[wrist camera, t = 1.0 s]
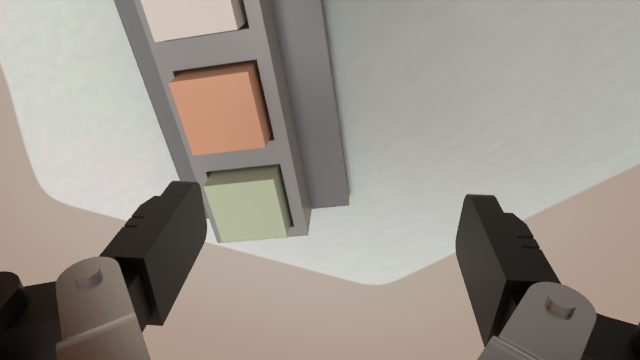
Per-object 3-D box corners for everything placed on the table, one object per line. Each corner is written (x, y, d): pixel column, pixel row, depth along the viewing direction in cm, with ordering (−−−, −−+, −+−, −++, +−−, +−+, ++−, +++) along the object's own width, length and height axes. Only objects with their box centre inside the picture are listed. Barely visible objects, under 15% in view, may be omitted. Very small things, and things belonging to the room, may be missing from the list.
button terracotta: (256, 59, 29) (247, 71, 27) (272, 130, 32) (265, 147, 29) (183, 70, 30) (168, 82, 27) (205, 138, 32) (193, 155, 30)
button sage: (279, 160, 33) (273, 179, 30) (291, 215, 36) (287, 237, 33) (214, 167, 34) (203, 186, 31) (231, 221, 36) (222, 242, 34)
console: (307, -105, 28) (298, -115, 23) (349, 193, 40) (349, 231, 35) (104, -66, 30) (53, -67, 25) (200, 208, 42) (179, 246, 37)
